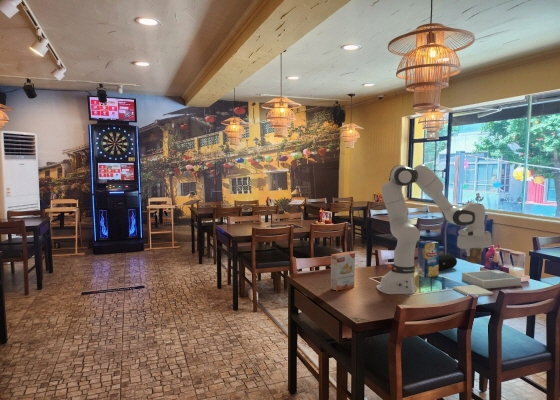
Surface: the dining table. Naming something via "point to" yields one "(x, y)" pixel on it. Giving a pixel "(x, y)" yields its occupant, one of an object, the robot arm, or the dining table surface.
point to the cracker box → (342, 270)
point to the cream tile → (472, 290)
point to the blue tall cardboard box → (428, 258)
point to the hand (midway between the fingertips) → (474, 255)
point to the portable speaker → (447, 261)
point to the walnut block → (474, 255)
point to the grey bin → (485, 281)
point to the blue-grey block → (497, 275)
